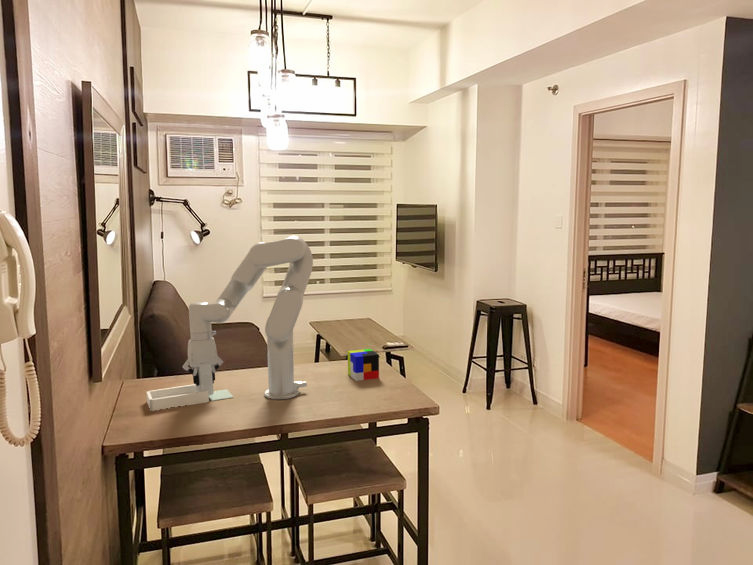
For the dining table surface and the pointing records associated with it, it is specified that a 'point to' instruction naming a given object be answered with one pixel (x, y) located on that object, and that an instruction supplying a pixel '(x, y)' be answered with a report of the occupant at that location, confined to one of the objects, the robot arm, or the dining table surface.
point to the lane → (175, 397)
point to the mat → (220, 395)
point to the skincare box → (205, 378)
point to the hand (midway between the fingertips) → (204, 383)
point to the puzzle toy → (363, 364)
